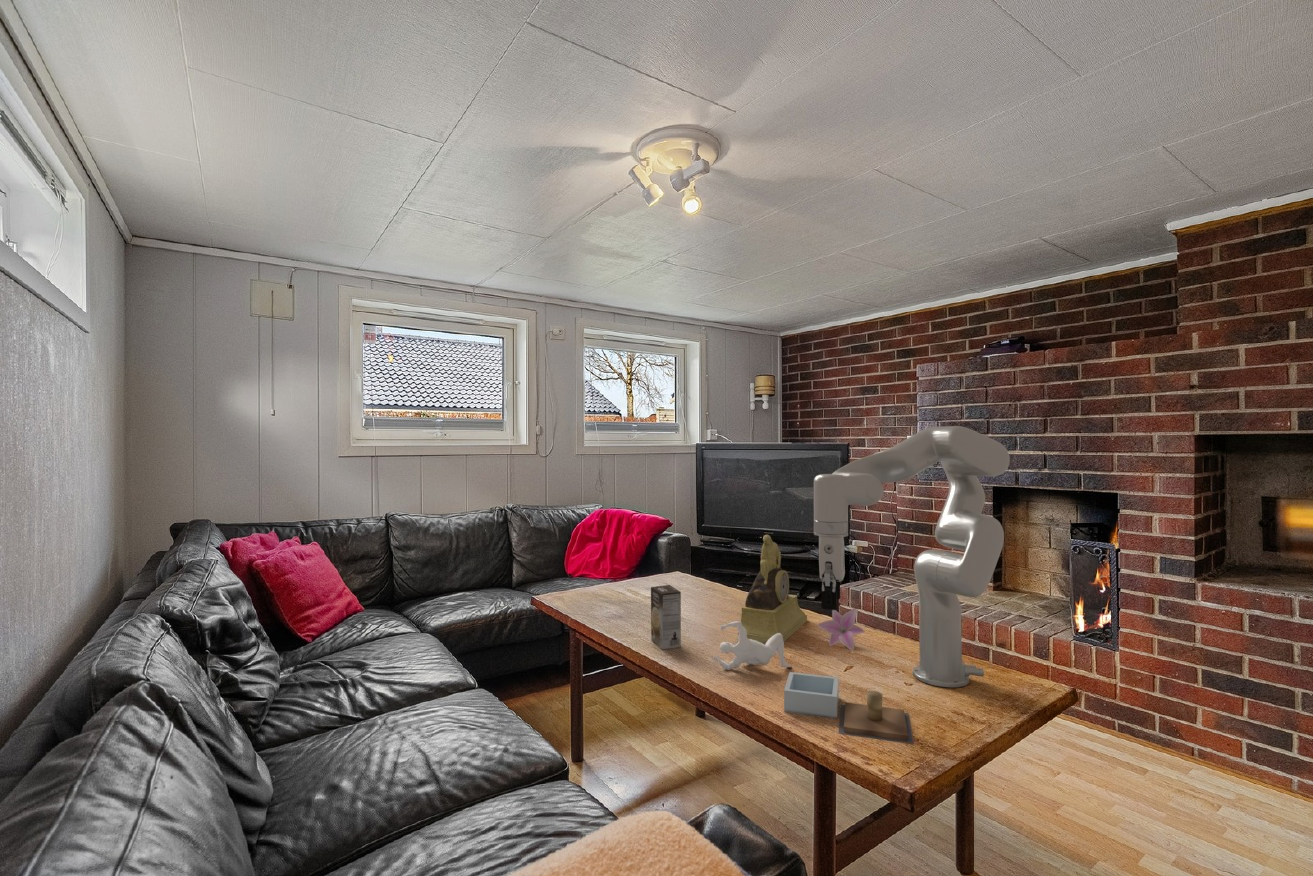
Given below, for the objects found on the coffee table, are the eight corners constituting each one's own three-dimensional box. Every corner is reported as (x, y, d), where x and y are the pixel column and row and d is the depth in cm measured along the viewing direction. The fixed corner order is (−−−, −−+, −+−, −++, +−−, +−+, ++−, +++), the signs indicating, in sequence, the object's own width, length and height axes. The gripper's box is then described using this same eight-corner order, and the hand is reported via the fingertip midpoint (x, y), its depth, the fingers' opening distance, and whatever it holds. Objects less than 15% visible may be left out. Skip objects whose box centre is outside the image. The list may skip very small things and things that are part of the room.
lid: (903, 714, 129) (903, 686, 129) (908, 740, 117) (907, 710, 117) (845, 706, 133) (844, 679, 133) (843, 731, 121) (843, 702, 121)
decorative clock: (779, 646, 174) (778, 542, 174) (737, 639, 180) (736, 539, 180) (807, 621, 198) (806, 529, 198) (769, 615, 204) (768, 527, 205)
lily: (813, 642, 179) (812, 619, 175) (839, 621, 185) (839, 598, 180) (846, 666, 170) (846, 642, 166) (873, 643, 176) (873, 619, 171)
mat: (908, 714, 129) (908, 713, 129) (914, 746, 116) (914, 744, 116) (840, 706, 134) (840, 704, 134) (838, 735, 121) (838, 733, 121)
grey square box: (838, 699, 137) (838, 677, 137) (837, 720, 127) (836, 697, 127) (789, 693, 141) (789, 672, 141) (784, 713, 131) (784, 690, 131)
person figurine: (766, 616, 166) (721, 617, 155) (802, 637, 156) (757, 640, 145) (753, 660, 167) (707, 664, 156) (788, 685, 157) (742, 691, 146)
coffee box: (650, 640, 180) (649, 586, 180) (669, 637, 182) (669, 584, 182) (661, 650, 171) (661, 593, 171) (682, 647, 173) (681, 591, 174)
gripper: (845, 534, 127) (845, 615, 127) (850, 524, 144) (850, 596, 143) (809, 532, 130) (809, 612, 130) (818, 523, 146) (818, 593, 146)
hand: (831, 603), depth 137 cm, fingers open, 9 cm apart
